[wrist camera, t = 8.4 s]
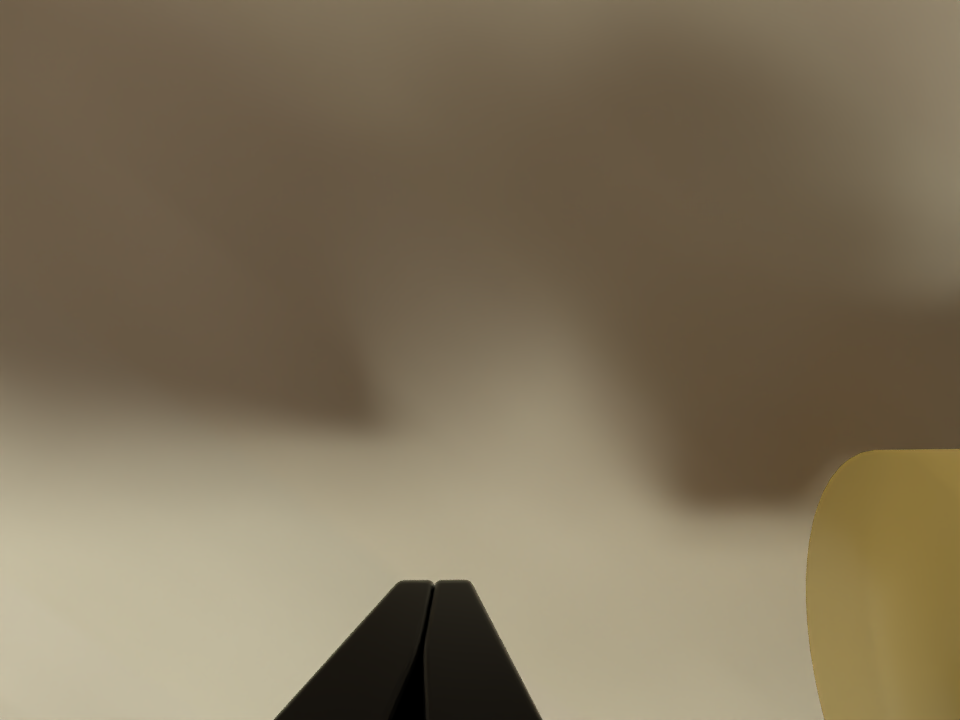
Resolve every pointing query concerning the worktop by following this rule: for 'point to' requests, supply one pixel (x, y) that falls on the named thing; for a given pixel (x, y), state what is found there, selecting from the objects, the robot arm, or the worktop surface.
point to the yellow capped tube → (887, 587)
